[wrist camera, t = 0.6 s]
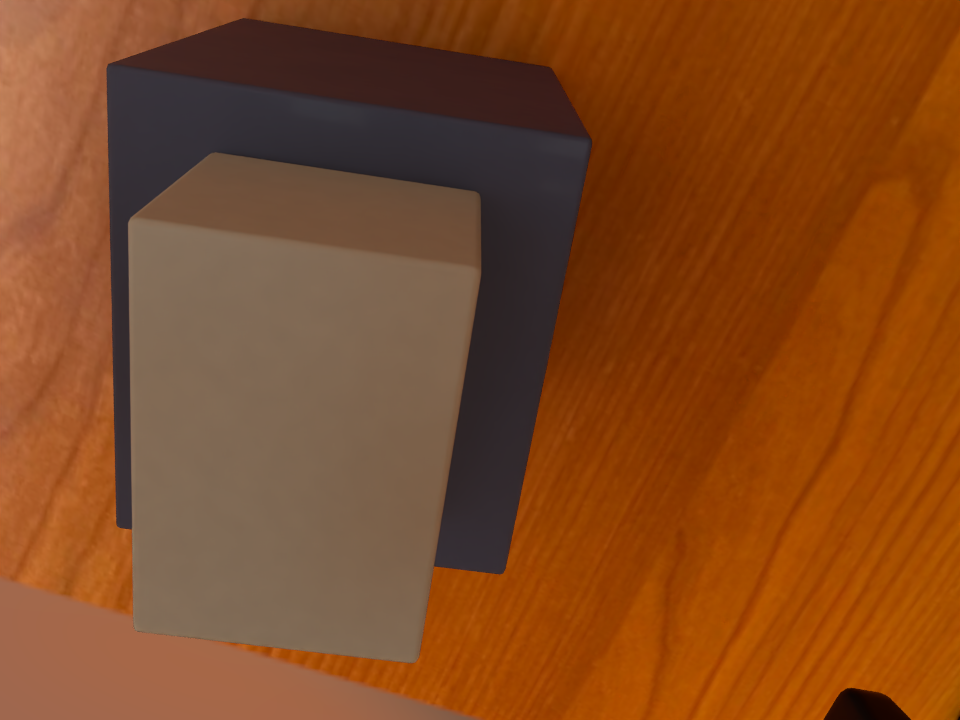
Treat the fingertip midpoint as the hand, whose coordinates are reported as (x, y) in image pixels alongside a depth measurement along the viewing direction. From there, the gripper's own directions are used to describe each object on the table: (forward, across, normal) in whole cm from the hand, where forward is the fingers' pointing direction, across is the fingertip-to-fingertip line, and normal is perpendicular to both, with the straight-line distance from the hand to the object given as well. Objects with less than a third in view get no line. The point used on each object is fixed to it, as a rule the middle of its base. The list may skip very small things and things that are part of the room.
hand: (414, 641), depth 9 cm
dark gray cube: (+14, +2, +1) cm, 14 cm away
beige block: (+6, +2, 0) cm, 6 cm away
